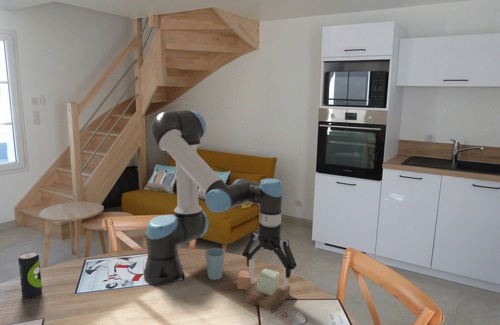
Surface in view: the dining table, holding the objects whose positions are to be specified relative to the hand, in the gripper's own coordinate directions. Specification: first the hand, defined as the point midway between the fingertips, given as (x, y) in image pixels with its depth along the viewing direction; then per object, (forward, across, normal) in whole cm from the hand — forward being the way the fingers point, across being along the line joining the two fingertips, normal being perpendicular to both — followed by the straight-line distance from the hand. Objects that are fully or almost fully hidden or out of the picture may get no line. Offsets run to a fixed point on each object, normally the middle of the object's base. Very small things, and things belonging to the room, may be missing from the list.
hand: (267, 280), depth 133 cm
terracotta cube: (+7, -11, +3) cm, 13 cm away
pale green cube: (+3, 0, 0) cm, 3 cm away
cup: (+7, -25, +3) cm, 26 cm away
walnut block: (+7, 0, 0) cm, 7 cm away
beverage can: (+7, -73, -42) cm, 84 cm away
